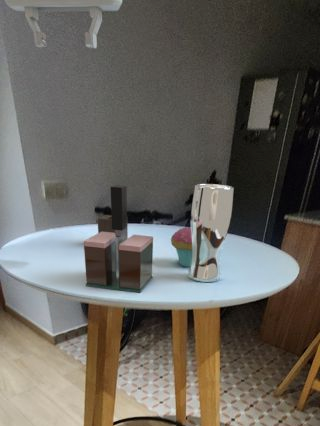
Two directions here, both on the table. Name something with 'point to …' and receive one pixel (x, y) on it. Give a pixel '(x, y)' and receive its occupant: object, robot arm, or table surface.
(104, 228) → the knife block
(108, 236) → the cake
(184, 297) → the table surface
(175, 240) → the cupcake
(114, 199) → the knife
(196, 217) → the beer glass
